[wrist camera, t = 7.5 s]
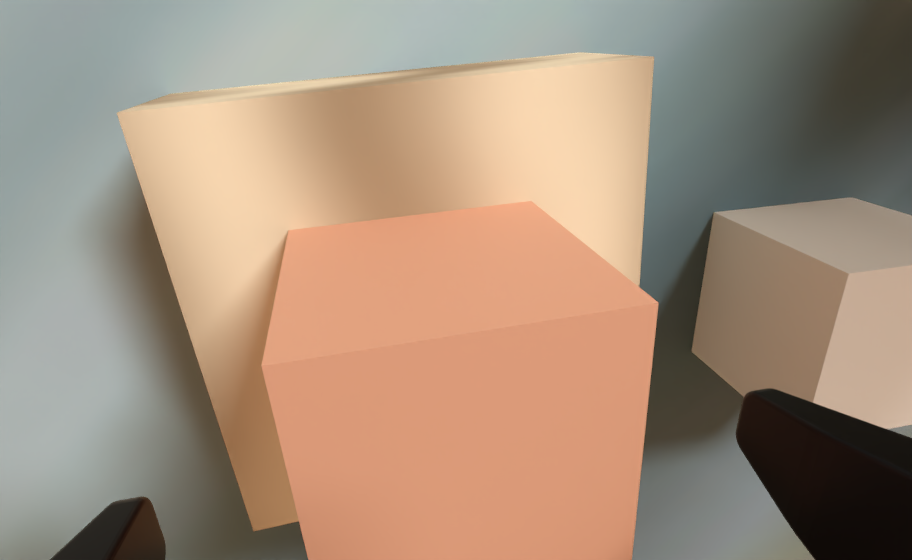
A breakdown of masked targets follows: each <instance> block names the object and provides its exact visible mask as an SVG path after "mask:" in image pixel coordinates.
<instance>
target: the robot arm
mask: <svg viewBox="0 0 912 560" xmlns="http://www.w3.org/2000/svg"><path fill="white" fill-rule="evenodd" d="M736 439H737V442H738V445H739V447H740V449H741V450H742V452H743V454H744V455H745V457H746V458H747V460H748V461H749V463H750V464H751V466H752V468H753V469H754V471H755V472H756V474H757V475H758V477H759V479H760V480H761V482H762V483H763V485H764V486H765V488H766V489H767V491H768V493H769V494H770V496H771V497H772V499H773V500H774V502H775V504H776V505H777V507H778V508H779V510H780V511H781V513H782V514H783V516H784V518H785V519H786V521H787V522H788V523H789V525H790V526H791V528H792V529H793V531H794V532H795V534H796V535H797V536H798V538H799V539H800V540H801V542H802V543H803V545H804V546H805V547H806V549H807V550H808V551H809V552H810V554H811V555H812V556H813V558H814V559H815V560H912V438H910V437H907V436H904V435H901V434H899V433H896V432H893V431H890V430H888V429H885V428H882V427H879V426H877V425H874V424H871V423H868V422H865V421H863V420H860V419H857V418H854V417H852V416H849V415H846V414H843V413H840V412H838V411H835V410H832V409H829V408H827V407H824V406H821V405H818V404H815V403H813V402H810V401H807V400H804V399H802V398H799V397H796V396H793V395H790V394H788V393H785V392H782V391H779V390H777V389H773V388H766V389H760V390H754V391H750V392H748V393H746V395H745V396H744V398H743V401H742V405H741V410H740V414H739V419H738V424H737V428H736ZM165 553H166V549H165V540H164V537H163V534H162V531H161V528H160V525H159V523H158V520H157V517H156V514H155V511H154V508H153V505H152V503H151V501H150V500H149V499H148V498H146V497H136V498H130V499H124V500H119V501H116V502H113V503H111V504H110V505H109V506H107V507H106V508H105V509H104V510H103V511H102V512H101V513H100V514H99V515H98V516H97V517H95V518H94V519H93V520H92V521H91V522H90V523H89V524H88V525H87V526H86V527H85V528H84V529H83V530H81V531H80V532H79V533H78V534H77V535H76V536H75V537H74V538H73V539H72V540H71V541H70V542H68V543H67V544H66V545H65V546H64V547H63V548H62V549H61V550H60V551H59V552H58V553H57V554H56V555H54V556H53V557H52V558H51V559H50V560H165Z"/></svg>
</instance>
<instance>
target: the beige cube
mask: <svg viewBox="0 0 912 560" xmlns="http://www.w3.org/2000/svg"><path fill="white" fill-rule="evenodd" d="M691 352H692V353H694V354H695V355H696V356H697V357H698V358H699V359H701V360H702V361H703V362H704V363H705V364H706V365H707V366H709V367H710V368H711V369H712V370H713V371H714V372H716V373H717V374H718V375H719V376H720V377H721V378H722V379H724V380H725V381H726V382H727V383H728V384H729V385H731V386H732V387H733V388H734V389H735V390H736V391H738V392H739V393H740V394H741V395H742V396H743V397H744V396H745V395H746V393H748V392H750V391H754V390H760V389H766V388H773V389H777V390H779V391H782V392H785V393H788V394H790V395H793V396H796V397H799V398H802V399H804V400H807V401H810V402H813V403H815V404H818V405H821V406H824V407H827V408H829V409H832V410H835V411H838V412H840V413H843V414H846V415H849V416H852V417H854V418H857V419H860V420H863V421H865V422H868V423H871V424H874V425H877V426H879V427H882V428H885V429H890V428H895V427H900V426H905V425H911V424H912V216H911V215H908V214H905V213H901V212H898V211H895V210H892V209H888V208H885V207H882V206H879V205H875V204H872V203H869V202H865V201H862V200H859V199H856V198H852V197H850V198H841V199H831V200H822V201H813V202H804V203H795V204H786V205H776V206H767V207H758V208H749V209H740V210H730V211H721V212H714V214H713V220H712V227H711V233H710V239H709V245H708V252H707V258H706V264H705V270H704V277H703V283H702V289H701V295H700V301H699V308H698V314H697V320H696V326H695V333H694V339H693V345H692V351H691Z"/></svg>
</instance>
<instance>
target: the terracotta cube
mask: <svg viewBox="0 0 912 560" xmlns="http://www.w3.org/2000/svg"><path fill="white" fill-rule="evenodd" d="M658 304H659V303H658V302H657V301H656V300H655V299H653V298H652V297H651V296H650V295H648V294H647V293H646V292H645V291H643V290H642V289H641V288H640V287H638V286H637V285H636V284H635V283H633V282H632V281H631V280H630V279H628V278H627V277H626V276H625V275H623V274H622V273H621V272H620V271H618V270H617V269H616V268H615V267H613V266H612V265H611V264H610V263H608V262H607V261H606V260H605V259H603V258H602V257H601V256H600V255H598V254H597V253H596V252H595V251H593V250H592V249H591V248H590V247H588V246H587V245H586V244H585V243H583V242H582V241H581V240H580V239H578V238H577V237H576V236H575V235H573V234H572V233H571V232H570V231H568V230H567V229H566V228H565V227H563V226H562V225H561V224H560V223H558V222H557V221H556V220H555V219H553V218H552V217H551V216H550V215H548V214H547V213H546V212H545V211H543V210H542V209H541V208H540V207H538V206H537V205H536V204H535V203H533V202H532V201H526V202H518V203H509V204H501V205H493V206H484V207H476V208H468V209H460V210H451V211H443V212H435V213H427V214H418V215H410V216H402V217H394V218H385V219H377V220H369V221H360V222H352V223H344V224H336V225H327V226H319V227H311V228H303V229H294V230H288V235H287V240H286V245H285V250H284V255H283V260H282V265H281V270H280V275H279V280H278V285H277V290H276V295H275V300H274V305H273V310H272V315H271V320H270V325H269V330H268V336H267V341H266V346H265V351H264V356H263V361H262V366H261V367H262V371H263V375H264V379H265V383H266V387H267V392H268V396H269V400H270V404H271V408H272V412H273V416H274V420H275V424H276V429H277V433H278V437H279V441H280V445H281V449H282V453H283V457H284V461H285V466H286V470H287V474H288V478H289V482H290V486H291V490H292V494H293V499H294V503H295V507H296V511H297V515H298V519H299V523H300V527H301V531H302V536H303V540H304V544H305V548H306V552H307V556H308V560H632V552H633V542H634V532H635V523H636V513H637V504H638V494H639V485H640V475H641V466H642V456H643V447H644V437H645V428H646V418H647V409H648V399H649V389H650V380H651V370H652V361H653V351H654V342H655V332H656V323H657V313H658Z"/></svg>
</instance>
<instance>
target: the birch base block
mask: <svg viewBox="0 0 912 560" xmlns="http://www.w3.org/2000/svg"><path fill="white" fill-rule="evenodd" d="M653 65H654V57H650V56H633V55H615V54H598V53H570V54H560V55H550V56H540V57H530V58H520V59H511V60H501V61H491V62H481V63H471V64H461V65H451V66H441V67H431V68H421V69H411V70H401V71H392V72H382V73H372V74H362V75H352V76H342V77H332V78H322V79H312V80H302V81H292V82H282V83H272V84H263V85H253V86H243V87H233V88H223V89H213V90H203V91H193V92H183V93H173V94H168V95H166V96H163V97H160V98H157V99H154V100H151V101H149V102H146V103H143V104H140V105H137V106H134V107H132V108H129V109H126V110H123V111H120V112H118V113H117V115H118V118H119V121H120V124H121V127H122V130H123V133H124V136H125V139H126V143H127V146H128V149H129V152H130V155H131V158H132V161H133V164H134V167H135V170H136V173H137V176H138V179H139V182H140V185H141V188H142V191H143V194H144V198H145V201H146V204H147V207H148V210H149V213H150V216H151V219H152V222H153V225H154V228H155V231H156V234H157V237H158V240H159V243H160V246H161V250H162V253H163V256H164V259H165V262H166V265H167V268H168V271H169V274H170V277H171V280H172V283H173V286H174V289H175V292H176V295H177V298H178V302H179V305H180V308H181V311H182V314H183V317H184V320H185V323H186V326H187V329H188V332H189V335H190V338H191V341H192V344H193V347H194V350H195V353H196V357H197V360H198V363H199V366H200V369H201V372H202V375H203V378H204V381H205V384H206V387H207V390H208V393H209V396H210V399H211V402H212V405H213V409H214V412H215V415H216V418H217V421H218V424H219V427H220V430H221V433H222V436H223V439H224V442H225V445H226V448H227V451H228V454H229V457H230V461H231V464H232V467H233V470H234V473H235V476H236V479H237V482H238V485H239V488H240V491H241V494H242V497H243V500H244V503H245V506H246V509H247V512H248V516H249V519H250V522H251V525H252V528H253V531H258V530H262V529H266V528H271V527H275V526H280V525H284V524H289V523H293V522H298V521H299V519H298V515H297V511H296V507H295V503H294V499H293V494H292V490H291V486H290V482H289V478H288V474H287V470H286V466H285V461H284V457H283V453H282V449H281V445H280V441H279V437H278V433H277V429H276V424H275V420H274V416H273V412H272V408H271V404H270V400H269V396H268V392H267V387H266V383H265V379H264V375H263V371H262V367H261V366H262V361H263V356H264V351H265V346H266V341H267V336H268V330H269V325H270V320H271V315H272V310H273V305H274V300H275V295H276V290H277V285H278V280H279V275H280V270H281V265H282V260H283V255H284V250H285V245H286V240H287V235H288V230H294V229H303V228H311V227H319V226H327V225H336V224H344V223H352V222H360V221H369V220H377V219H385V218H394V217H402V216H410V215H418V214H427V213H435V212H443V211H451V210H460V209H468V208H476V207H484V206H493V205H501V204H509V203H518V202H526V201H532V202H533V203H535V204H536V205H537V206H538V207H540V208H541V209H542V210H543V211H545V212H546V213H547V214H548V215H550V216H551V217H552V218H553V219H555V220H556V221H557V222H558V223H560V224H561V225H562V226H563V227H565V228H566V229H567V230H568V231H570V232H571V233H572V234H573V235H575V236H576V237H577V238H578V239H580V240H581V241H582V242H583V243H585V244H586V245H587V246H588V247H590V248H591V249H592V250H593V251H595V252H596V253H597V254H598V255H600V256H601V257H602V258H603V259H605V260H606V261H607V262H608V263H610V264H611V265H612V266H613V267H615V268H616V269H617V270H618V271H620V272H621V273H622V274H623V275H625V276H626V277H627V278H628V279H630V280H631V281H632V282H633V283H635V284H636V285H637V286H638V287H639V284H640V269H641V253H642V237H643V222H644V206H645V190H646V175H647V159H648V144H649V128H650V112H651V97H652V81H653Z"/></svg>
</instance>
